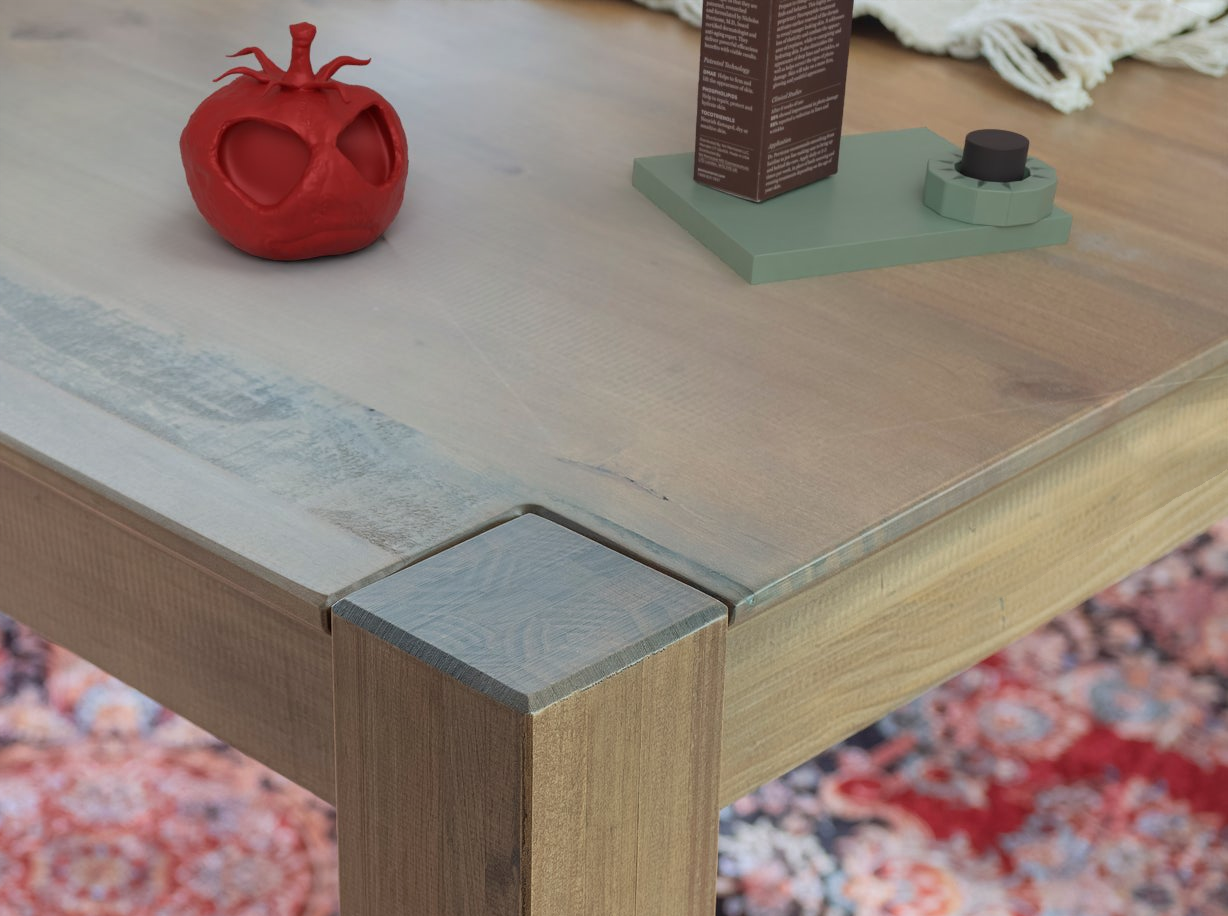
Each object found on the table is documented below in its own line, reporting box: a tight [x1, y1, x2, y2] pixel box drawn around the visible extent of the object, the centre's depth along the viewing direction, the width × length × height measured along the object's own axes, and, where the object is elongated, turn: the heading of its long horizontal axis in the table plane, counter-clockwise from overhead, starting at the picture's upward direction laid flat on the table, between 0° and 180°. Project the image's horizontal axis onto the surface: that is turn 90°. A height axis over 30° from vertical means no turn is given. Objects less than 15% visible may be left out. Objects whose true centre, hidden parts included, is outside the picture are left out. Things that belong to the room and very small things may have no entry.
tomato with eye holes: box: [178, 21, 410, 261], centre depth 83 cm, size 10×10×9 cm
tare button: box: [960, 128, 1030, 183], centre depth 86 cm, size 3×3×2 cm
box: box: [693, 0, 855, 202], centre depth 85 cm, size 6×4×12 cm
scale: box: [631, 126, 1074, 286], centre depth 88 cm, size 16×13×3 cm
